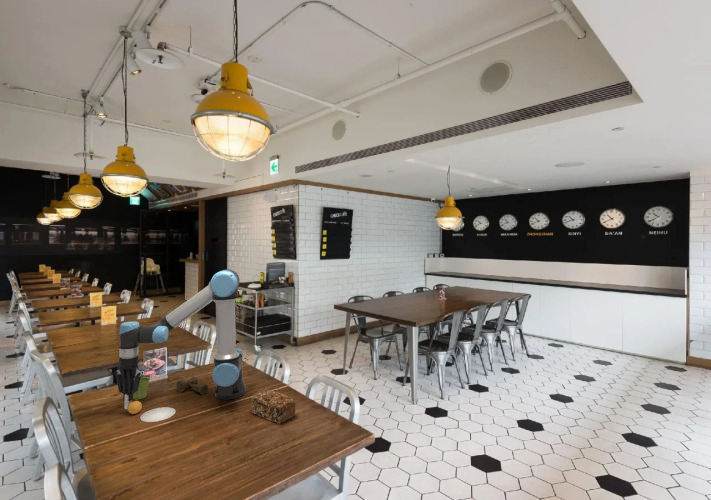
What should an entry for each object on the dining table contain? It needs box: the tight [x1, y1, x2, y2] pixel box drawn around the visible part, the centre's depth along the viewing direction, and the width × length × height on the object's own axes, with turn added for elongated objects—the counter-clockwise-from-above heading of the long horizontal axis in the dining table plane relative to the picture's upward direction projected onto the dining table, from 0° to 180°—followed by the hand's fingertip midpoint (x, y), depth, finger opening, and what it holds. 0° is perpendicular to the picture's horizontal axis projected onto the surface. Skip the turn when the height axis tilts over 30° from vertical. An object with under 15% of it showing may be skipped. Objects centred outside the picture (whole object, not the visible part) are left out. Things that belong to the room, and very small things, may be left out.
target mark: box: [139, 406, 176, 423], centre depth 165 cm, size 14×14×1 cm
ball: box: [127, 400, 143, 415], centre depth 166 cm, size 6×6×6 cm
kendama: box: [176, 376, 209, 396], centre depth 192 cm, size 6×10×20 cm
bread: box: [250, 389, 296, 424], centre depth 166 cm, size 19×11×10 cm, turn 56°
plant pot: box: [133, 376, 151, 401], centre depth 183 cm, size 9×9×9 cm
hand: (128, 407), depth 166 cm, fingers closed
